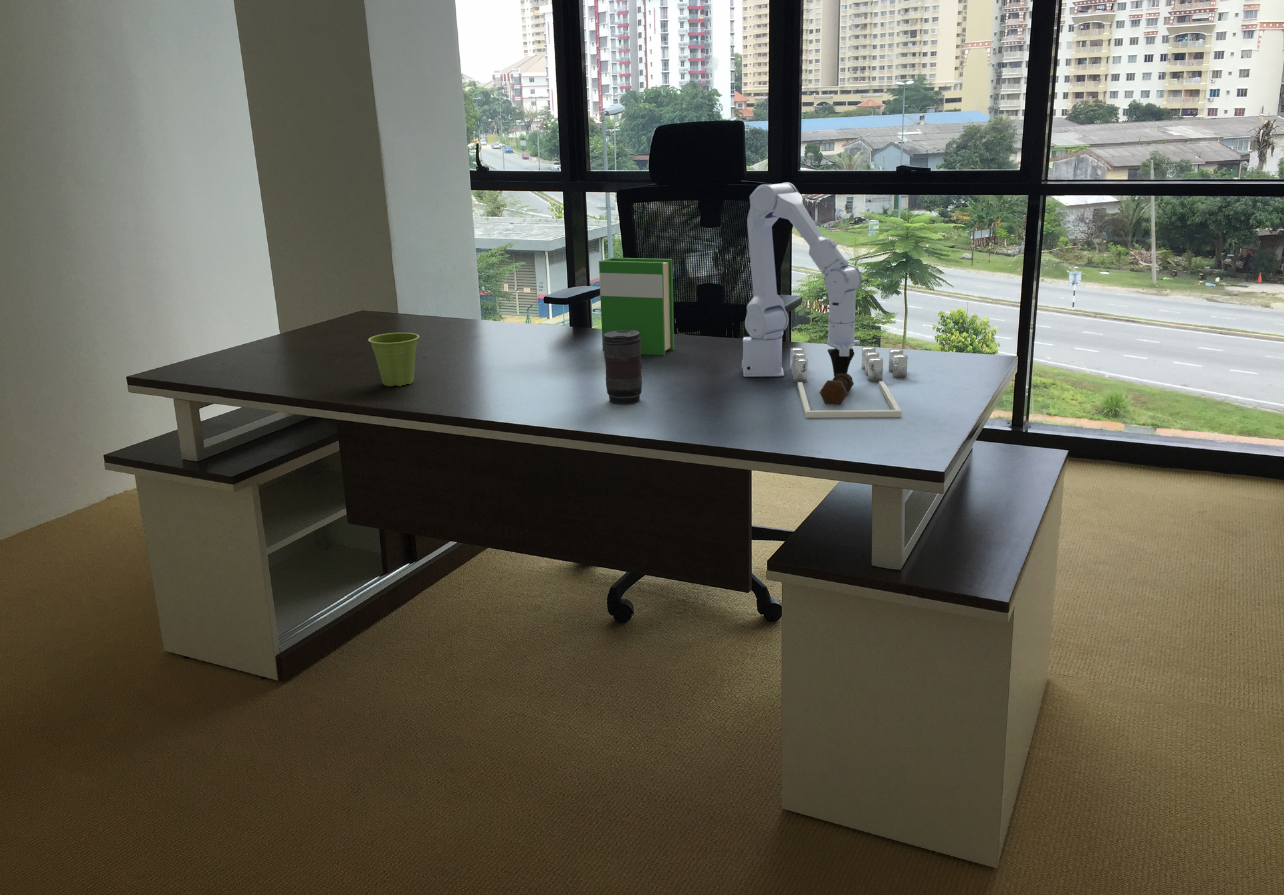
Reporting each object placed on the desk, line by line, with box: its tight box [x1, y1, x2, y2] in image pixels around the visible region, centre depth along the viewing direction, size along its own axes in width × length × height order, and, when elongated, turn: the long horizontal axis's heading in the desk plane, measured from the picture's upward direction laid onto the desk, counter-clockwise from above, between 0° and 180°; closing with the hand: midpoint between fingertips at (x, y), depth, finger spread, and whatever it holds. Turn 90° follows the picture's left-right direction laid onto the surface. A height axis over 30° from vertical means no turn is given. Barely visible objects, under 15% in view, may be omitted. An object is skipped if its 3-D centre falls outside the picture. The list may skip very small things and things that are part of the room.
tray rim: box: [797, 380, 902, 419], centre depth 218 cm, size 19×25×1 cm
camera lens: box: [603, 330, 643, 405], centre depth 222 cm, size 8×8×15 cm
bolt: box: [819, 373, 855, 406], centre depth 222 cm, size 6×5×15 cm
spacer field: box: [789, 346, 909, 384], centre depth 240 cm, size 26×15×5 cm, turn 85°
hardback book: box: [598, 257, 675, 356], centre depth 270 cm, size 18×7×24 cm, turn 67°
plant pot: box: [368, 332, 420, 387], centre depth 244 cm, size 12×12×11 cm
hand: (839, 381), depth 231 cm, fingers closed
